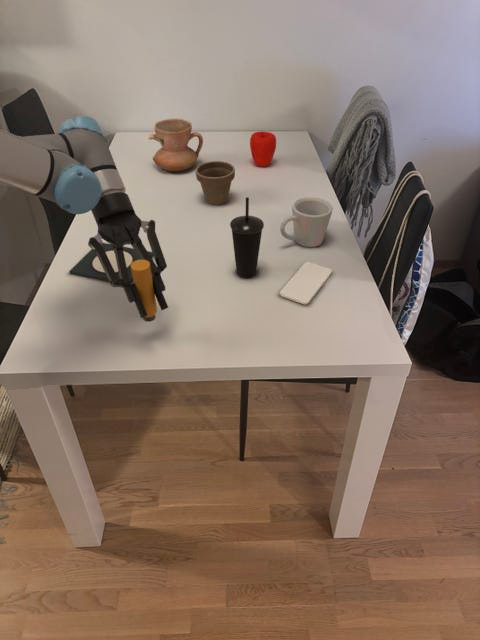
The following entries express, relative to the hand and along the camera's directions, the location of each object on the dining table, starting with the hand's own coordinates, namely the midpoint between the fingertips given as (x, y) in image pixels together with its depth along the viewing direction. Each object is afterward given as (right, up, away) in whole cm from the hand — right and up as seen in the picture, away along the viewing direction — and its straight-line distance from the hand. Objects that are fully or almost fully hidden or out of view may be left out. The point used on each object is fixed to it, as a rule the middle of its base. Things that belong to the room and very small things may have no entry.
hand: (154, 312), depth 91 cm
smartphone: (+32, +7, +22) cm, 40 cm away
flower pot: (+9, +35, +54) cm, 65 cm away
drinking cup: (+18, +10, +26) cm, 33 cm away
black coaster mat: (-16, +13, +28) cm, 35 cm away
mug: (+33, +19, +36) cm, 53 cm away
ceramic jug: (-5, +51, +72) cm, 89 cm away
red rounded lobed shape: (+24, +53, +74) cm, 94 cm away
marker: (-2, -1, +5) cm, 6 cm away
